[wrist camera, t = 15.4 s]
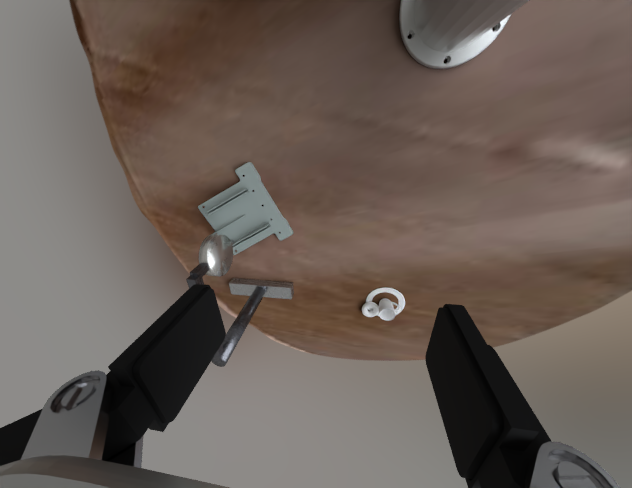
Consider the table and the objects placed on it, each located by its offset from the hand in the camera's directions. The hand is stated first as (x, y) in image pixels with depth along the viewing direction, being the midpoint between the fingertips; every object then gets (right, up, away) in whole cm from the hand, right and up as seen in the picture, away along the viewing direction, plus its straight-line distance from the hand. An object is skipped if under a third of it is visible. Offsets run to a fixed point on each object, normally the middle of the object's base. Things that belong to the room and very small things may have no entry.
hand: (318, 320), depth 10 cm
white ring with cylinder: (+12, -7, +39) cm, 41 cm away
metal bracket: (-13, +9, +35) cm, 39 cm away
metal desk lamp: (-12, +1, +38) cm, 40 cm away
